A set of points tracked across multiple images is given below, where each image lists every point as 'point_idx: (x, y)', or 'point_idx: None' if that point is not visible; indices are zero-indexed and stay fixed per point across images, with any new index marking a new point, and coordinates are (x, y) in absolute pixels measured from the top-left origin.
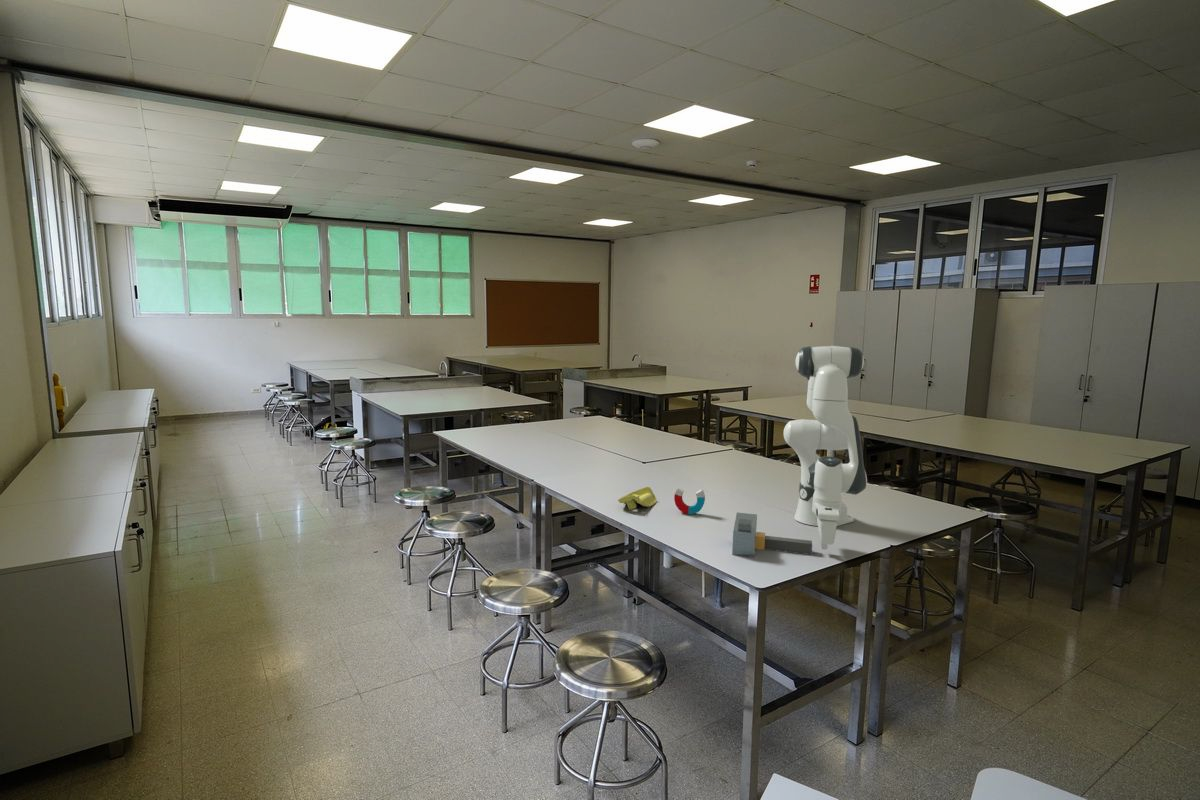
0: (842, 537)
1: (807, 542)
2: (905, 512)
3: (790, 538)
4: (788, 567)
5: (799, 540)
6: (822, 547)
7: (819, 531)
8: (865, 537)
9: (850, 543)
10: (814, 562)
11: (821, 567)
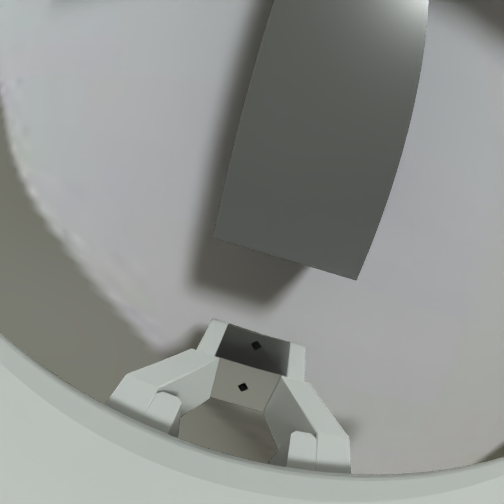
0: (468, 441)
1: (278, 185)
2: None
3: (424, 1)
4: (38, 23)
5: (364, 84)
6: (207, 331)
7: (112, 471)
8: None
9: (403, 459)
10: (87, 178)
11: (39, 203)
